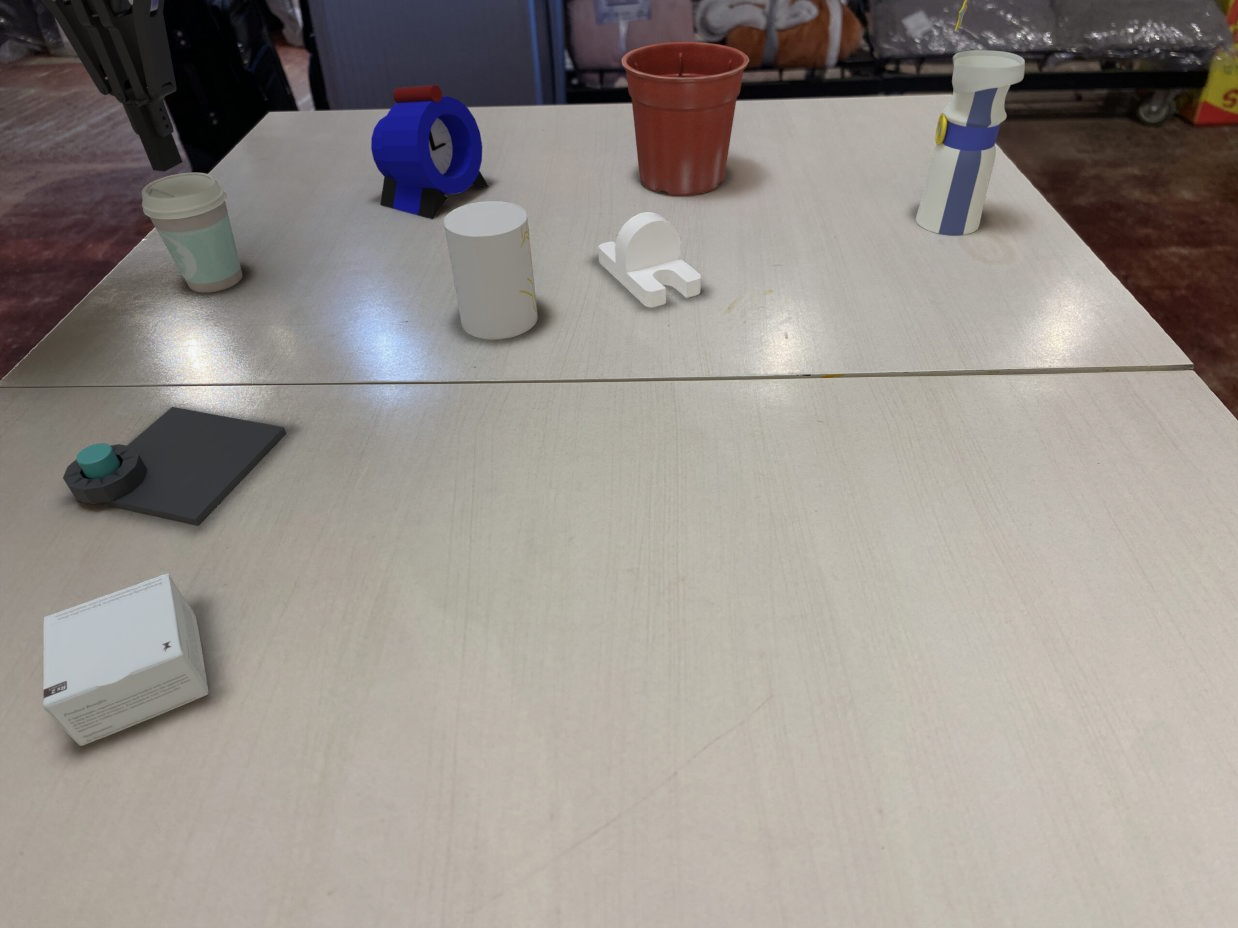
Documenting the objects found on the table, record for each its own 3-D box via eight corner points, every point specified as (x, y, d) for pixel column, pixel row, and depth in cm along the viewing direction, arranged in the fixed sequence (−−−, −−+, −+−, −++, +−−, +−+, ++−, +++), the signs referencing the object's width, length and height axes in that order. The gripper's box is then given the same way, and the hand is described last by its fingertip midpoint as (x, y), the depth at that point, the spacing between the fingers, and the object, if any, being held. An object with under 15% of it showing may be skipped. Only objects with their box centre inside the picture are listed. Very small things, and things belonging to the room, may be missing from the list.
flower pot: (708, 213, 107) (715, 84, 96) (602, 190, 113) (598, 67, 103) (757, 170, 117) (768, 50, 107) (657, 152, 124) (658, 37, 113)
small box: (199, 616, 57) (171, 568, 54) (214, 700, 52) (184, 653, 49) (77, 661, 55) (40, 614, 51) (80, 755, 50) (39, 709, 46)
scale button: (78, 476, 65) (68, 460, 64) (102, 456, 67) (92, 440, 66) (104, 482, 65) (94, 466, 64) (127, 461, 67) (118, 445, 65)
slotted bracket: (703, 298, 90) (706, 232, 85) (648, 314, 87) (648, 247, 82) (647, 252, 99) (647, 190, 93) (596, 265, 96) (593, 202, 91)
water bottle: (915, 235, 100) (968, 10, 84) (909, 207, 106) (957, -8, 90) (985, 239, 99) (1052, 11, 82) (975, 210, 105) (1035, -7, 89)
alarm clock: (436, 220, 107) (414, 101, 97) (369, 202, 112) (342, 88, 102) (493, 187, 115) (478, 75, 105) (428, 172, 120) (408, 63, 110)
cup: (547, 334, 85) (537, 227, 77) (472, 352, 83) (454, 243, 75) (525, 299, 91) (514, 195, 83) (454, 314, 88) (435, 209, 80)
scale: (65, 508, 66) (47, 482, 64) (171, 417, 75) (158, 391, 74) (195, 538, 63) (180, 510, 61) (288, 439, 73) (278, 412, 71)
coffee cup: (180, 276, 97) (138, 177, 89) (254, 262, 99) (220, 165, 91) (177, 309, 91) (132, 207, 83) (257, 294, 93) (220, 193, 85)
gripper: (152, -113, 70) (242, 158, 86) (35, -114, 73) (143, 148, 89) (85, -102, 65) (195, 186, 80) (-37, -103, 68) (91, 174, 83)
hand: (168, 166), depth 84 cm, fingers closed
